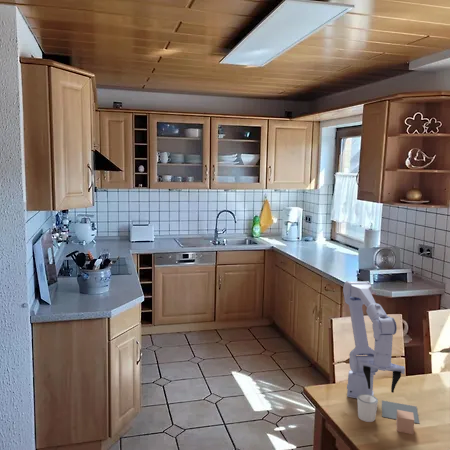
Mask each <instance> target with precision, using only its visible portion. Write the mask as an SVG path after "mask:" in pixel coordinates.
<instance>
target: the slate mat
mask: <svg viewBox="0 0 450 450" xmlns="http://www.w3.org/2000/svg"><path fill="white" fill-rule="evenodd" d="M397 410H402V411H407V412H413V415H414V424H417V425H418V424H419V425H420V419H419V418H420V417H419V413H418V407H417V406H416V405H410V404H404V403H399V402H394V401H387V400H381V417H382V418H385V419H391V420H397Z"/></svg>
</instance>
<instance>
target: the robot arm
mask: <svg viewBox="0 0 450 450" xmlns="http://www.w3.org/2000/svg"><path fill="white" fill-rule="evenodd" d="M342 291H343V298H344V303H345V304H347V305H348V308H349V312H350V313H349V314H350V315H349V316H350V320H351V327H352V333H353V339H354V340H353V341H354V345H355V347H354V348H353V349H351V351H350V352H349V355H348V356H349V362H348V363H349V368H350V370H349V369H348V375H347V376H348V377H347V384H346V390H347V393H346V395H347V397H348V398H353V399H357V396H358V395H360V394H369V395H372V396H374V394H375V393H374V392H375V391H374V389H373V388H374V376H376V373H378V372H379V371H383V372H387V371H388V372H392V377H391V378H392V379H391V381H392V382H391V389H390V391H391V392H390V393H393V394H394V392H395V389H396V386H397V383H398V382H399V381H400V379H401V377H402V374H403V375H405V372H406V371H405V370H406V369H405V366H404V365H400V364H399V365H398V364H395V363H392V355H393V354H392V353H393V338H394V335H395V334H396V333H397V330H398V329H397V328H398V327H397V322H396V320H395V318H394V317H391V316H390V315H389V316H388V314H387V313H386V311H385V310H384V308H383V306H382V305H381V304H380V303H377V302H376V300H375V298H374V296H373V294H372V293H373V288H372V284H371V282H370V281H368V280H366V281H349V280H346V281H345V282H344V284H343V289H342ZM363 306H365V307H366V314H367V316H368V317H369V319H370V322H372V323H371V324H372V325H371V326H372V330H373V331H372V332H373V338H374V348H371V347H370V345H369V341H368V335H367V329H366V323H365V316H364V310H363Z"/></svg>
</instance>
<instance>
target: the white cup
mask: <svg viewBox="0 0 450 450" xmlns="http://www.w3.org/2000/svg"><path fill="white" fill-rule="evenodd" d="M356 400H357V417H358V419H360V420H361V421H363V422H367V423H372V422H374V421H375V420H376V416H377V409H378V403H379V399H378V398H377V397H376V396H374V395H373V396H372V395H369V394H360V395H358V396H357V398H356Z"/></svg>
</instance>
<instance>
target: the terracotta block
mask: <svg viewBox="0 0 450 450" xmlns="http://www.w3.org/2000/svg"><path fill="white" fill-rule="evenodd" d="M395 420H396V419H395ZM395 422H396V423H395V425H396V432H397V433H398V432H400V433H405V434H409V435H414V429H415V423H414V415H413V412H407V411H402V410H397V420H396V421H395Z"/></svg>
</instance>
